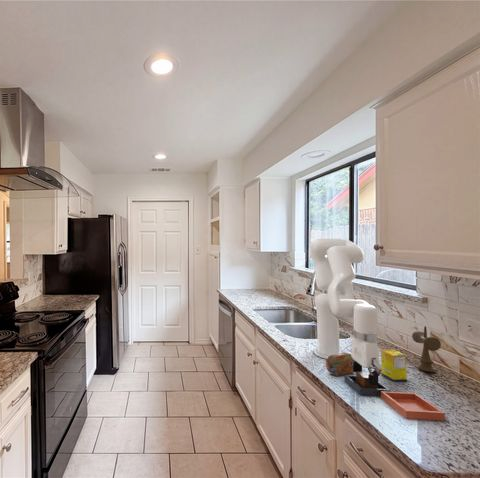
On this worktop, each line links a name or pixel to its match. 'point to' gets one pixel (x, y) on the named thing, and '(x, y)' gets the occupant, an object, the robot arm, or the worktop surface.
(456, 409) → the worktop surface
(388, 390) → the charcoal tray
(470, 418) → the worktop surface
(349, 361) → the tin
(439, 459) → the worktop surface
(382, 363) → the supplement box
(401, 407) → the terracotta tray
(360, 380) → the walnut block
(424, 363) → the kendama
